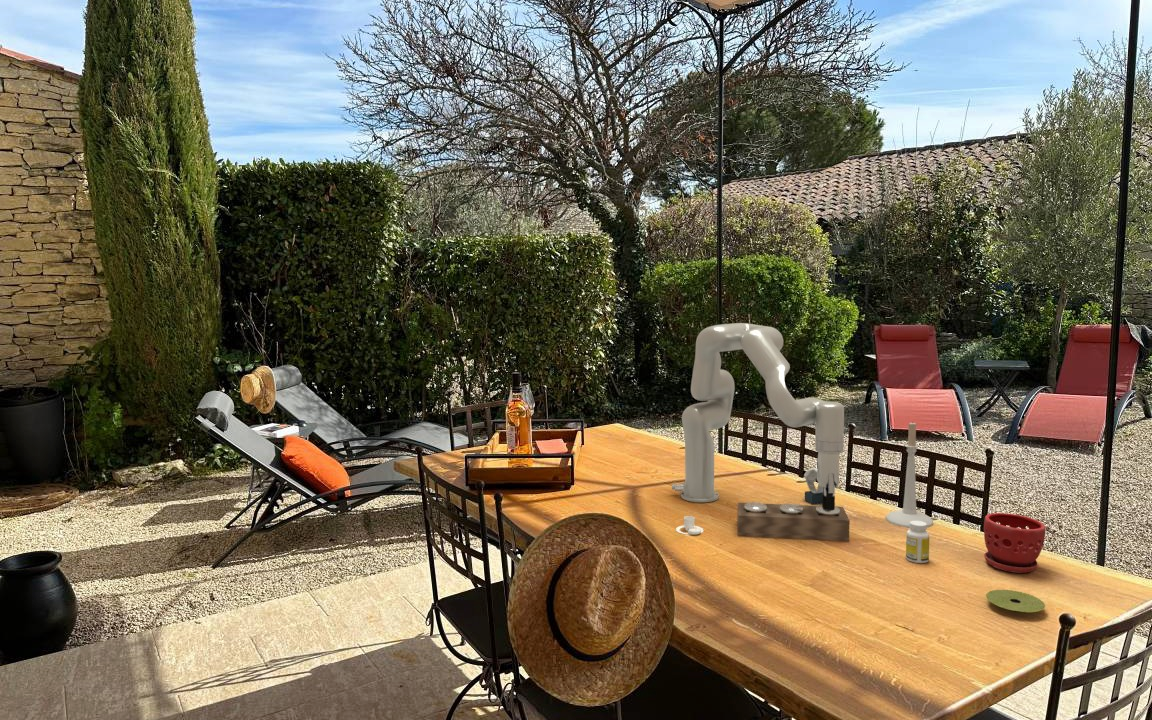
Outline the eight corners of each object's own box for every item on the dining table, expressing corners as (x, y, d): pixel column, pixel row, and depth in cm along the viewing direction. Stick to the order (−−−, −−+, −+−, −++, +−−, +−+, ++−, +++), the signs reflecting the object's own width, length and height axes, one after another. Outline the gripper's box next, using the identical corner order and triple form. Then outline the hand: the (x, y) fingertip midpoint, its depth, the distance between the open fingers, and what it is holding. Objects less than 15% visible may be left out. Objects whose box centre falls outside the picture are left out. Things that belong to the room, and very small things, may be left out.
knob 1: (744, 527, 214) (744, 508, 213) (743, 519, 220) (743, 502, 219) (767, 528, 212) (767, 509, 212) (766, 520, 218) (766, 502, 218)
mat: (1021, 624, 156) (1021, 615, 156) (974, 603, 167) (974, 594, 166) (1056, 613, 161) (1057, 605, 161) (1008, 593, 171) (1008, 585, 171)
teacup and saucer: (702, 537, 212) (702, 524, 211) (674, 536, 213) (674, 522, 213) (703, 527, 220) (703, 514, 220) (676, 526, 222) (676, 512, 221)
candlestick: (876, 517, 224) (879, 420, 221) (907, 511, 229) (911, 415, 226) (910, 530, 213) (914, 428, 209) (943, 524, 218) (946, 423, 214)
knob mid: (780, 528, 212) (780, 510, 211) (778, 521, 218) (779, 503, 217) (803, 529, 210) (804, 511, 210) (801, 522, 216) (801, 504, 216)
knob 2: (817, 530, 210) (817, 511, 209) (814, 522, 216) (814, 504, 215) (840, 531, 208) (841, 512, 208) (837, 523, 214) (837, 505, 214)
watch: (816, 497, 245) (817, 465, 244) (830, 504, 237) (830, 471, 236) (801, 499, 244) (801, 466, 242) (814, 506, 236) (815, 472, 235)
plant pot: (1022, 581, 178) (1024, 532, 176) (970, 562, 189) (973, 517, 188) (1054, 570, 184) (1057, 523, 182) (1003, 552, 195) (1005, 508, 194)
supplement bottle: (927, 557, 193) (928, 520, 192) (929, 564, 188) (931, 527, 187) (904, 554, 195) (906, 518, 194) (906, 562, 190) (907, 525, 189)
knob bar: (738, 535, 211) (738, 515, 211) (737, 521, 223) (737, 502, 222) (849, 541, 205) (849, 520, 205) (842, 526, 217) (842, 506, 216)
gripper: (812, 439, 217) (811, 500, 219) (818, 451, 203) (817, 516, 205) (839, 440, 216) (838, 501, 218) (847, 452, 201) (846, 518, 203)
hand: (828, 508), depth 211 cm, fingers closed
